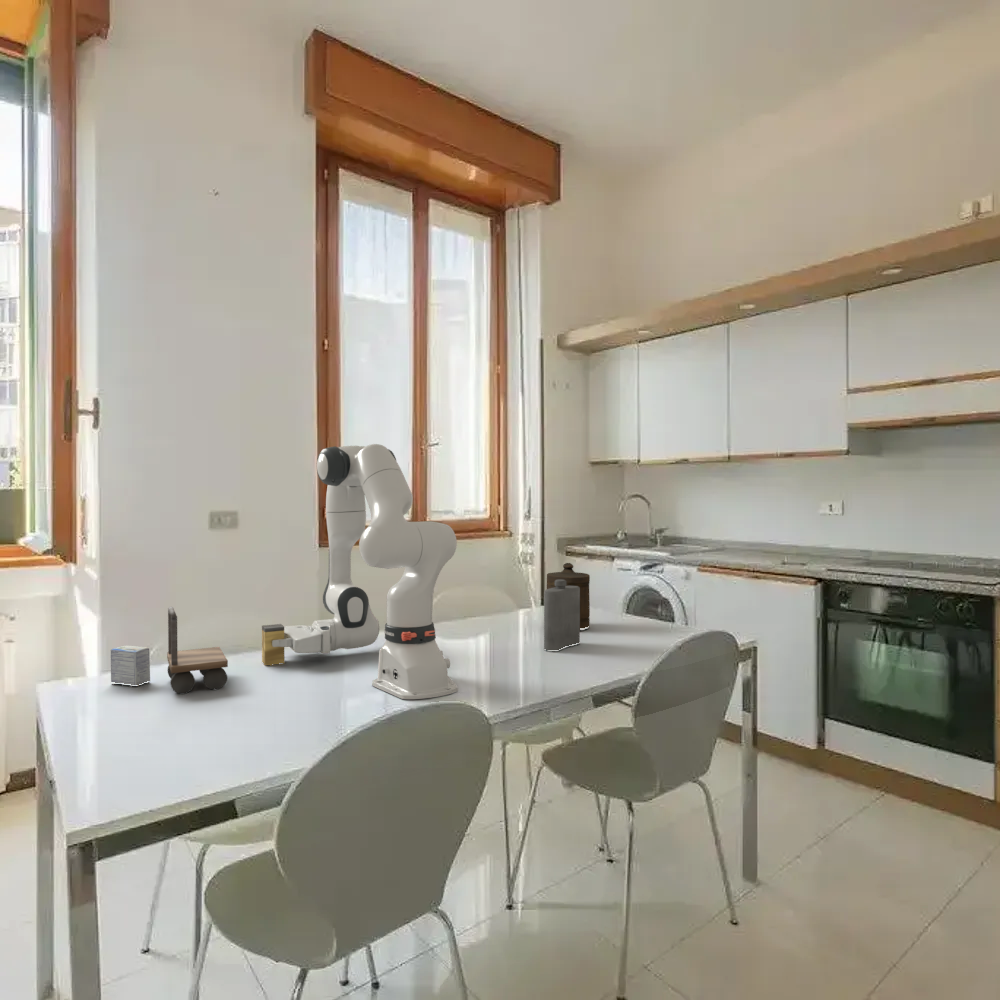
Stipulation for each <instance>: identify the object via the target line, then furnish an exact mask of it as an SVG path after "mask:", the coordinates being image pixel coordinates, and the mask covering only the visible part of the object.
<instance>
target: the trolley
mask: <svg viewBox="0 0 1000 1000" xmlns="http://www.w3.org/2000/svg"><path fill="white" fill-rule="evenodd" d="M167 626H168V627H167V632H168V633H167V635H168V637H167V640H168V644H167V645H168V647H167V648H168V650H167V652H166V655H167V656H166V659H167V663H168V666H167V674H168V677H169V678H170V687H171V689H172V691H173V692H175V693H176V694H179V693H184V694H188V692H190V691H192V689H193V688H194V687H195V684H196V680H195V676H194V674H193V672H194V671H199V673H200V674H201V675H202V677H203V683H204V685H205V686H206V687H207V688H208V689H210V690H213V689H216V690H219V689H222V687H224V686H225V685H226V683H227V681H228V674H227V672H226V671H225V669H224V668H228V667H229V666H228V664H229V663H228V659H227V657H226V655H225V653H224V652H223V650H222V649H221V647H220V646H215V647H204V648H203V647H202V648H195V649H184V650H178V616H177V613H176V611H175V608H174V607H173V606H169V607H168V608H167Z"/></svg>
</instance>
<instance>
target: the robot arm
mask: <svg viewBox="0 0 1000 1000" xmlns="http://www.w3.org/2000/svg"><path fill="white" fill-rule="evenodd" d="M316 473H317V476H318V478H319V480H320V481H321V482H322V483H323V484H324V485H326V487H327V488H326V496H325V516H326V529H327V537H328V579H327V582H326V583H327V584H326V586H325V588H324V591H323V594H322V603H323V606H324V608H325V609H326V611H328V613H330V614H332V615H334V616H333V618H329V619H318V620H313V622H312V624H311V625H306V624H301V625H298V624H297V625H285V626H284V625H283V626H284V639H273V640H272V641H271V645H272V646H273V647H284V648H290V649H291V650H292V651H294V653H296V654H319V653H320V654H322V655H326V654H327V655H328V654H330V653H331V652H333V651H337V650H340V649H341V650H342V649H345V650H351V649H360V648H364V647H368V646H371V645H373V644H374V643H375V642H376V640H377V639H378V636H379V634H380V621H379V619H378V618H377V617H376V616H375V614H374V613H373V611H372V609H371V606H370V601H369V597H368V594H367V592H366V591H365V590H364V589H362V588H360V587H358V586H356V585H354V583H353V582H352V577H351V572H352V571H351V570H352V569H351V568H352V567H351V566H352V565H351V563H352V559H351V557H352V551H353V547H354V546H355V545H356V543H357V542H358V541H359V543H358V550H359V554H360V556H361V559H362V560H363V562H364V563H365V564H366V565H367V566H369V567H372V568H373V567H374V568H378V569H386V570H388V569H399V568H402V569H403V568H404V571H403V573H402V575H401V578H400V579H398V581H397V582H396V583H395V584H393V585H392V586H390V588H389V589H388V592H387V595H386V623H385V625H384V639H385V642H384V644H383V646H382V647H381V648H380V649H379V652H378V668H377V678H376V679H373V680H372V682H371V686H372V687H375V688H377V689H379V690H381V691H384V692H386V693H388V694H390V695H392V696H395V697H396V698H399V699H402V700H422V699H431V698H438V697H443V696H446V695H451V694H453V693H457V692H459V688H458V685H457V684H456V683H455V682H454V681H453V680H452V678H451V677H450V676H449V675H448V669H450V668H451V660H450V658H444V656H443V655H444V652H443V650H441V649H440V647H439V646H438V644H437V642H436V641H437V640H436V639H437V638H436V637H437V636H436V628H435V623H434V622H433V603H434V600H433V599H434V590H435V587H436V584H437V580H438V577H439V575H440V574H441V571H442V570H443V568H444V566H445V565H446V564H447V563H448V562H449V560H451V559H452V558H453V557H454V555H455V552H456V549H457V546H458V545H457V542H458V541H457V536H456V533H455V531H454V529H453V528H452V527H451V526H450V525H449V524H446V523H442V522H437V521H433V520H432V521H431V520H429V521H408V520H407V519H406V518H405V517H404V516H405V515H406V514H407V513H409V511H410V509H411V508H412V505H413V501H414V500H413V496H414V495H413V494H412V492H411V491H412V490H411V489H410V487H409V484H408V482H407V480H406V478H405V475H404V473H403V471H402V468H401V467H400V465H399V463H398V462H397V458H396V456H395V453H394V452H393V451H392V450H391V449H389V448H387V447H386V446H385V445H382V444H377V443H373V444H369V445H366V446H364V445H361V446H360V445H346V446H329V447H326V448H323V449H322V450H321V451H320V453H319V454H318V456H317V459H316ZM366 502H367V505H368V508H369V512H370V523H369V525H368V526H367V527H366V523H367V508H366V507H367V506H366Z"/></svg>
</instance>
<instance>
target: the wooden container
mask: <svg viewBox="0 0 1000 1000" xmlns="http://www.w3.org/2000/svg"><path fill="white" fill-rule="evenodd" d="M562 567H563V570H562V571H557V572H556V571H555V572H549V573H547V574H546V589H550V588H554V587H556V586H555V580H559V579H561V580H566V586H578V587H580V628H585V627H588V626H589V627H590V613H591V611H590V610H591V608H590V606H591V605H590V582H591V581H590V578H591V577H590V574H589V573H584V572H576V571H574V565H573V564H572V563H571V562H565V563H564V564H562Z"/></svg>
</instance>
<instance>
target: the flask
mask: <svg viewBox="0 0 1000 1000" xmlns="http://www.w3.org/2000/svg"><path fill="white" fill-rule="evenodd" d="M555 586H556V587H554V588H550V589H547V588H546V589H545V590H543V591H544V592H543V615H544V616H543V650H544V649H546V650H559V649H561V648H563V647H565V646H569V645H572V644H576V643H579V642H580V643H581V641H580V640H581V639H580V638H581V637H580V635H581V634H580V633H581V631H580V587H578V586H566V580H561V579H559V580H555Z"/></svg>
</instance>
